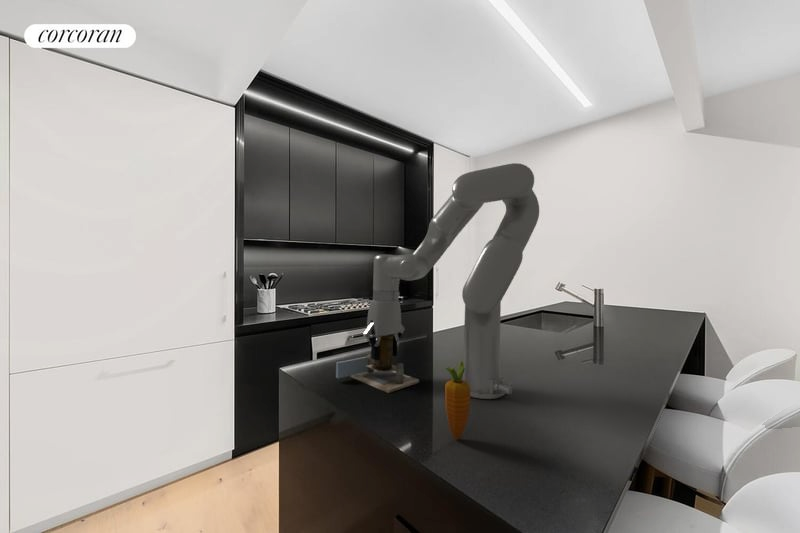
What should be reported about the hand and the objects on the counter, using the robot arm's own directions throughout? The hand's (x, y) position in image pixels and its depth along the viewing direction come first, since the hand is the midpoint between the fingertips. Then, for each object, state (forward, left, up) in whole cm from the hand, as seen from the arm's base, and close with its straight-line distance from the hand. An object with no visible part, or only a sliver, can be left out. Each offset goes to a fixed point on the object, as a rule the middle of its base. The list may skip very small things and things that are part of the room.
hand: (384, 356), depth 99 cm
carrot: (-35, +12, -7) cm, 38 cm away
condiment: (0, 0, -3) cm, 3 cm away
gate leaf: (+7, +6, -6) cm, 11 cm away
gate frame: (0, 0, -7) cm, 7 cm away
